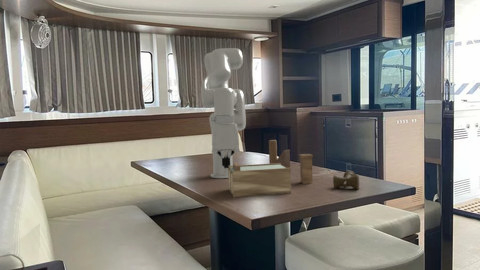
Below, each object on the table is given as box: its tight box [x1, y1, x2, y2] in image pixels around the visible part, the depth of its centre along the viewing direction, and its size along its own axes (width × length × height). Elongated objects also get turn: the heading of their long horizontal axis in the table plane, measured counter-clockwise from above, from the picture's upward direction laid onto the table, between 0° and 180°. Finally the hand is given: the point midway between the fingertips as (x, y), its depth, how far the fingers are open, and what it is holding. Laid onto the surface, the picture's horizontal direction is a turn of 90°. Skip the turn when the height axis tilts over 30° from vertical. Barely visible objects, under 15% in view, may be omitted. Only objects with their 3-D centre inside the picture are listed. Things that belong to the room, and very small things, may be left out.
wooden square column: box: [298, 153, 314, 185], centre depth 158 cm, size 5×5×12 cm
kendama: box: [332, 170, 360, 190], centre depth 148 cm, size 6×10×20 cm
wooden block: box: [268, 139, 291, 169], centre depth 164 cm, size 4×11×18 cm, turn 40°
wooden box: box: [228, 163, 292, 198], centre depth 144 cm, size 14×22×10 cm, turn 99°
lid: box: [230, 162, 285, 171], centre depth 144 cm, size 11×21×3 cm, turn 99°
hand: (226, 167), depth 142 cm, fingers closed
